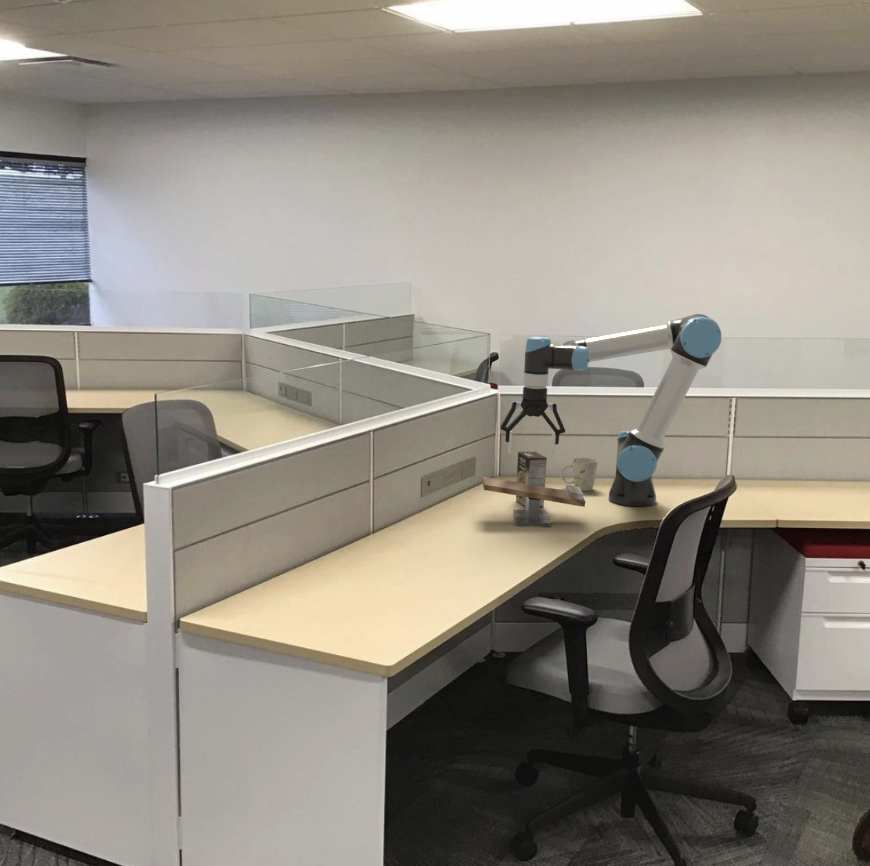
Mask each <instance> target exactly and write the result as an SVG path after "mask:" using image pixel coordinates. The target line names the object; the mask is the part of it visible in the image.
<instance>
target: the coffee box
mask: <svg viewBox="0 0 870 866" xmlns="http://www.w3.org/2000/svg"><path fill="white" fill-rule="evenodd" d="M547 459H548V458H547V457H546V456H544V455H542V454H541V453H539V452H537V451H518V452H517V467H516V469H517V471H516V482H518V483H523V484H529V485H535V486H541V487H546V480H547V479H546V478H547V462H548V461H547ZM515 501H516V502H517V501H518V502H517V503H519V502H520V503H521V504H520V503H519V504H520V505H522V506H523V505H524V506H523V507H524V508H526V497H523V496H517V495H515ZM540 506H545V500H541V499H539V508H541V507H540Z"/></svg>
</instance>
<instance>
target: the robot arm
mask: <svg viewBox="0 0 870 866" xmlns="http://www.w3.org/2000/svg"><path fill="white" fill-rule="evenodd" d="M525 341H526V343H525V350H524V351H525V352H524V370H523V371H524V373H523V388H522V398H521V399H522V401H516V400H512V402H511V407H510V409H509V411H508V412H507V414H506V416H505V417H504V419H503V421H502V423H501V425H500V430H501V431H504V432H505V442H506V443H508V447H507V451H508V454H512V446H513V445H512V443H513V431H512V430H513V429H514V428H515V427H516V426H517V425H518V423H520V422H521V421H522V420H523V419H524V418H525V417H526V416H528V417H537V418H538V417H539V418H540V417H541V416H542V418H543V419H544V420H545V422H547V424H548V426H549V427H550V428H551V430H553V433H552V435H551V450H550V454H551V456H555V452H556V445H558V444H559V442H560V435H561V434H564V433H566V429H565V426H564V424H563V422H562V420H561V417H560V414H559V413H558V409H557V407H558V406H557V403H556V402H555V401H554V402H552V403H551V402H550V403H548V402H547V400H548V388H547V387H548V384H549V369H552V370H554V369H555V370H564V371H565V370H568V371H575V372H578V371H579V372H580V371H587V370H588V365H589V363H592V362H598V361H603V360H610V359H615V358H622V357H628V356H629V357H630V356H634V355H640V354H646V353H652V352H659V351H665V350H670V354H671V356H672V358H671V359H670V362H669V364H668V366H667V367H666V370H665V371H664V374H663V376H662V378H661V380H660V382H659V384H658V386H657V388H656V390H655V392H654V394H653V396H652V398H651V399H650V401H649V404H648V406H647V407H646V410H645V412H644V414H643V416H642V417H641V420H640V421H639V423H638V426H637V427H636V428H632V429H630V430H621V431H619V432H618V437H617V438H616V439H617V448H616V449H617V450H616V463H615V476H614V479H613V482H612V484H611V487H610V489H609V492H608V501H610V502H611V503H614V504H617V505H621V506H628V507H650V506H653V505H655V504H656V502H657V493H656V490H655V486H654V482H653V475H654V473H655V472H656V470H657V465H658V461H659V459H660V457H661V456H662V454H663V452H664V449H665V443H664V438H665V437H666V435H667V432H668V430H669V429H670V427H671V425H672V423H673V421H674V419H675V417H676V416H677V413H678V411H679V410H680V407H681V406H682V403H683V401H684V399H685V397H686V396H687V393H688V391H689V389H690V388H691V386H692V384H693V381H694V380H695V378H696V376H697V374H698V372H699V371H700V370H702V369H704V368H706V367H708V364H709V362H710V360H711V358H712V356H713V354H715V352H716V351H717V350H718V349H719V348H720V346H721V344H722V332H721V327H720V326H719V324H718V323H717V322H716V321H715V320H714V319H712V318H711V317H709V316H707V315H706V314H702V313H701V314H699V313H697V314H691V315H688V316H685V317H681V318H678V319H674V320H668V321H667V322H666V323H665V324H664V325H663V324H662V325H658V326H653V327H646V328H641V329H635V330H629V331H624V332H618V333H611V334H606V335H600V336H594V337H589V338H588V337H587V338H585V339H584V338H583V339H578V340H573V339H572V340H568V341H565V342H564V343H563V344H553V343H552V342H551V339H550V338H549V337H545V336H528V338H527V339H526V340H525ZM519 407H521V409H522V411H521V412H520V413H519V414H518V415H517V416H516V417H515V418H514V419H513V420H512V422H511V423H510V424H509V422H510V420H511V418H512V417H513V415H514V413H515V411H516V409H518V408H519ZM548 408H549V409H550V411H552V413H553V415H554V418H555V419H556V422H557V425H558V427H559V428H558V427H556V425H555V424H554V423H553V421H552V420H551V419H550V417H549V416H548V415H547V413H546V412H545V411H546V410H547V409H548ZM508 424H509V425H508Z"/></svg>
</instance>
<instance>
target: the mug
mask: <svg viewBox="0 0 870 866" xmlns="http://www.w3.org/2000/svg"><path fill="white" fill-rule="evenodd" d="M598 464H599V461H598V460H597V459H595V458H590V457H576V458H573V459H572V464H571V463H570V464H569V463H568V464H565V465H564V464H563V466H562V467H561V469H560V470H559V477H560V479H561V481H562V482H563V483H565V484H567V485H573V484H574V485H573V486H577V487H580V489H581V491H582V492H590V491H593V489H594V484H595V479H596V473H597V469H598V468H597V467H598ZM566 469H573V480H567V479H566V478H565V476H564V472H565V470H566Z"/></svg>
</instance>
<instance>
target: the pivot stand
mask: <svg viewBox="0 0 870 866" xmlns="http://www.w3.org/2000/svg"><path fill="white" fill-rule="evenodd" d="M512 512H513V513H514V514H513V518H514V521H515V526H516V527H529V526H541V527H540V528H551V525H552V522H551V521H550V517H549V514H548V512H547V510H542V509H541V510H540V507H539V499H535V498H529V497H526V507H525V509H513V511H512Z"/></svg>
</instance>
